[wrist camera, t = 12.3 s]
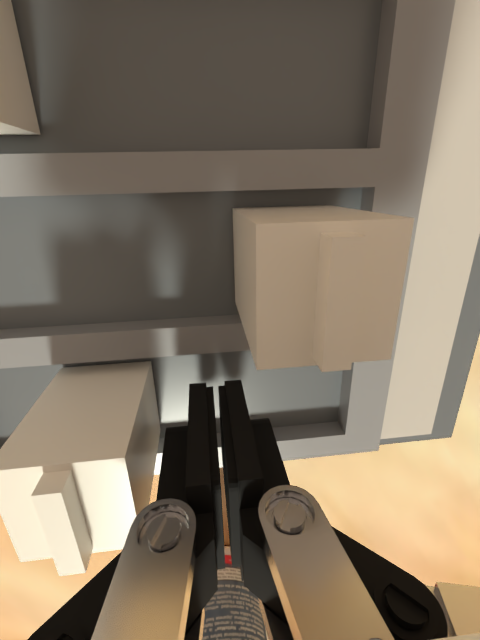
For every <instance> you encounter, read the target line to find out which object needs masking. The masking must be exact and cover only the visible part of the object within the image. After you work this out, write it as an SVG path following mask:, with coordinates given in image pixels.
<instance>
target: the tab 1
mask: <svg viewBox="0 0 480 640" xmlns="http://www.w3.org/2000/svg"><path fill="white" fill-rule="evenodd" d="M0 135H40V130H39V125H38V121H37V116H36V112H35V107H34V103H33V98H32V93H31V89H30V84H29V80H28V75H27V71H26V66H25V61H24V57H23V52H22V48H21V43H20V38H19V34H18V29H17V25H16V20H15V16H14V11H13V6H12V2H11V0H0Z"/></svg>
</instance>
